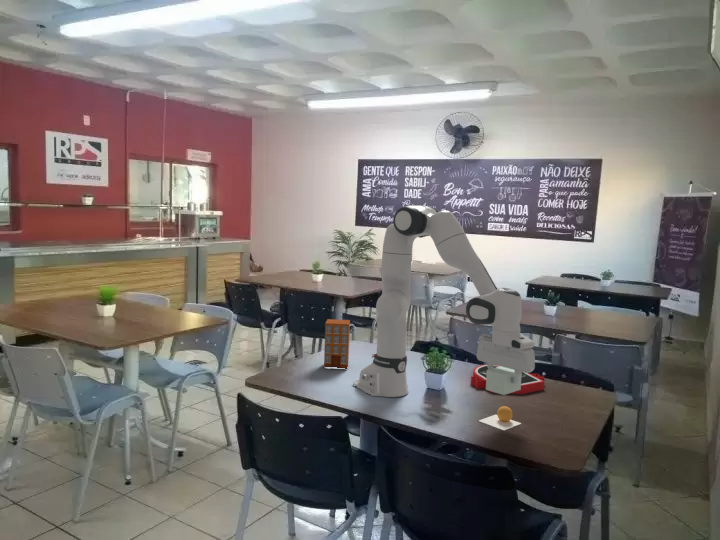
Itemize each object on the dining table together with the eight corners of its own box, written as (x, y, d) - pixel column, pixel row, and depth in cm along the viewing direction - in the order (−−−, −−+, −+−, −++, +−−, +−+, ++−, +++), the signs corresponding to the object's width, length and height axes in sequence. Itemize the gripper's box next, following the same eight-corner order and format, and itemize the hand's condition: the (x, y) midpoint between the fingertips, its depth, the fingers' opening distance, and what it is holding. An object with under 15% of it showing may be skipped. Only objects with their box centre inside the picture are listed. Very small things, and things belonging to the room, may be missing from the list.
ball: (499, 401, 188) (504, 410, 191) (492, 413, 186) (497, 422, 189) (512, 405, 185) (517, 414, 187) (505, 417, 183) (510, 426, 185)
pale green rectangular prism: (485, 389, 184) (486, 369, 183) (502, 384, 190) (504, 365, 190) (503, 395, 179) (505, 374, 178) (520, 389, 185) (521, 370, 185)
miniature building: (323, 369, 238) (325, 323, 236) (325, 363, 248) (327, 319, 246) (346, 370, 238) (348, 324, 236) (348, 364, 247) (350, 320, 245)
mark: (478, 421, 186) (478, 420, 186) (495, 414, 193) (495, 414, 193) (503, 430, 179) (504, 430, 179) (521, 423, 185) (521, 423, 185)
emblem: (516, 363, 249) (557, 383, 221) (515, 371, 250) (556, 393, 221) (454, 365, 241) (487, 387, 213) (453, 374, 242) (487, 396, 213)
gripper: (474, 333, 188) (471, 373, 190) (527, 345, 173) (525, 389, 174) (485, 331, 192) (482, 370, 194) (538, 343, 177) (536, 385, 179)
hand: (503, 379), depth 184 cm, fingers closed on pale green rectangular prism, 7 cm apart
